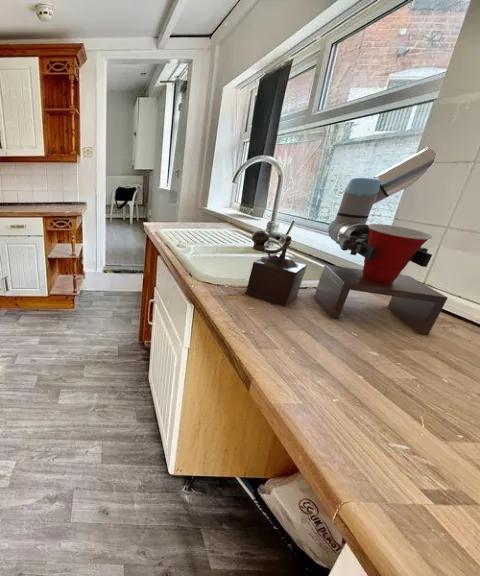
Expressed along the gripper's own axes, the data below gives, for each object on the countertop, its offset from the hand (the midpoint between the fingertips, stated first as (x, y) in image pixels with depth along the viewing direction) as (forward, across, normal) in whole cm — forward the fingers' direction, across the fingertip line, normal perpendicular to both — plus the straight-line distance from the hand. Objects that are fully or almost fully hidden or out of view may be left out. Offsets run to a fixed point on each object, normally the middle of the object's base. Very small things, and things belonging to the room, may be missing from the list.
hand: (399, 257), depth 66 cm
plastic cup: (-5, 0, -7) cm, 8 cm away
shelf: (-5, 0, -16) cm, 16 cm away
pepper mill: (-4, +22, -16) cm, 27 cm away
